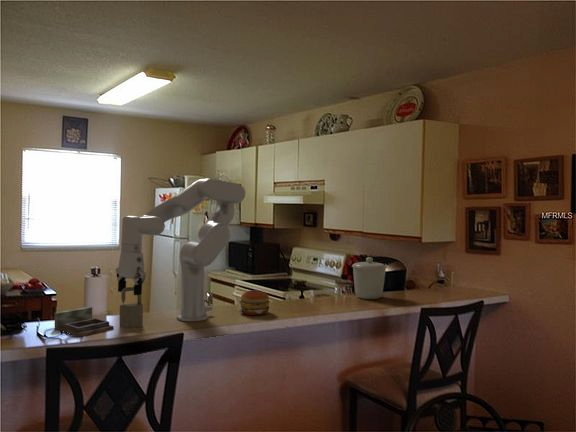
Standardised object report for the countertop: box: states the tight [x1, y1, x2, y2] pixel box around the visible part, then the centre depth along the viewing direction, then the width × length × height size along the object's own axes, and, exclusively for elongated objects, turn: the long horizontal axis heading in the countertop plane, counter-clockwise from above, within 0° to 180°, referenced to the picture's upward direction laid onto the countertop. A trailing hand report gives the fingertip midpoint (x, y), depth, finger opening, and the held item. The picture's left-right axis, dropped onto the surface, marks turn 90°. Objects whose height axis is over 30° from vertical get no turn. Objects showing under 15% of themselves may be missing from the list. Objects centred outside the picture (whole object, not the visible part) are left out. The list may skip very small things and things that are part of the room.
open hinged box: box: [54, 306, 115, 338], centre depth 184 cm, size 14×16×6 cm
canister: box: [351, 256, 388, 300], centre depth 257 cm, size 18×18×21 cm
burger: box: [238, 289, 271, 316], centre depth 216 cm, size 14×14×10 cm
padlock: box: [119, 286, 144, 329], centre depth 190 cm, size 4×8×15 cm, turn 119°
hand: (129, 293), depth 189 cm, fingers open, 9 cm apart
